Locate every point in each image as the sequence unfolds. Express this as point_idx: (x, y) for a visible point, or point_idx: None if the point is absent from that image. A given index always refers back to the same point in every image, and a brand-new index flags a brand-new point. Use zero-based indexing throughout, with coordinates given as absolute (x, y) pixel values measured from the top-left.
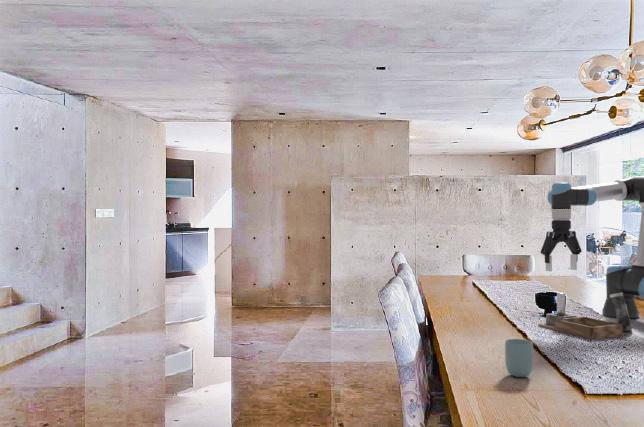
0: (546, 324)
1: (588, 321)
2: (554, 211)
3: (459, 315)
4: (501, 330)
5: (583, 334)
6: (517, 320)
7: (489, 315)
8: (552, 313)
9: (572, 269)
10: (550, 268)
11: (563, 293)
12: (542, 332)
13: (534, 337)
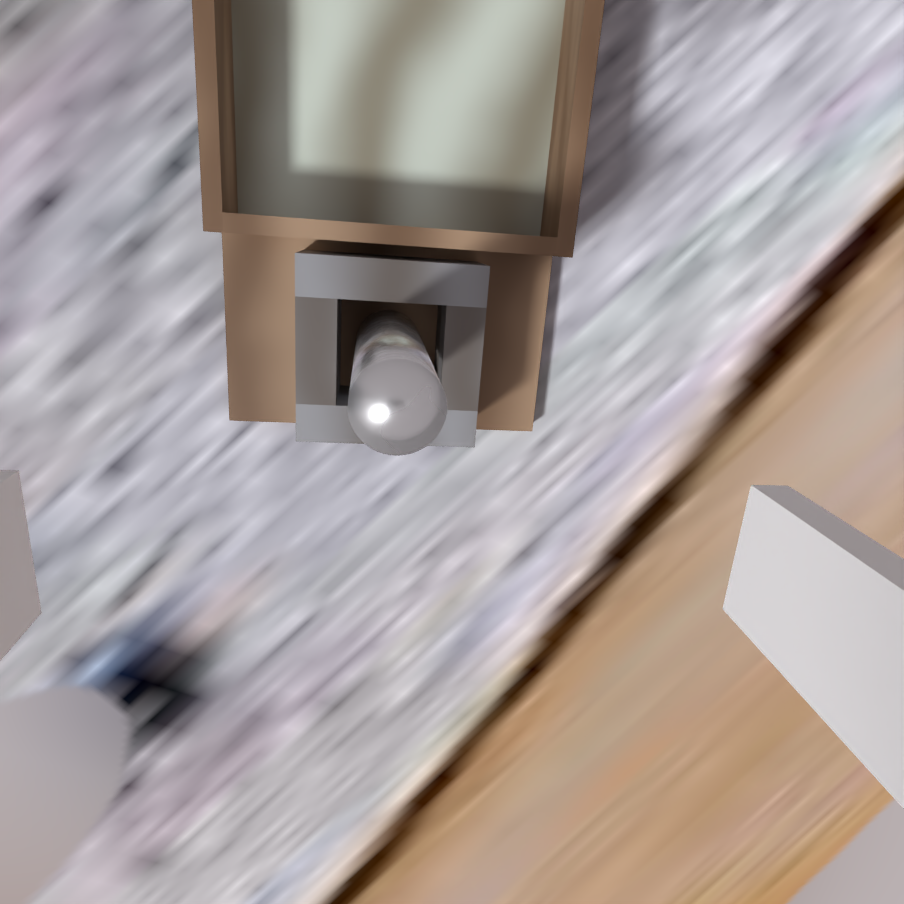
0: (497, 388)
1: (227, 164)
2: None
3: (666, 871)
4: (854, 426)
5: None
6: (484, 641)
7: (510, 823)
8: None
9: (31, 558)
10: (828, 514)
11: (379, 386)
12: (689, 241)
13: (888, 131)
